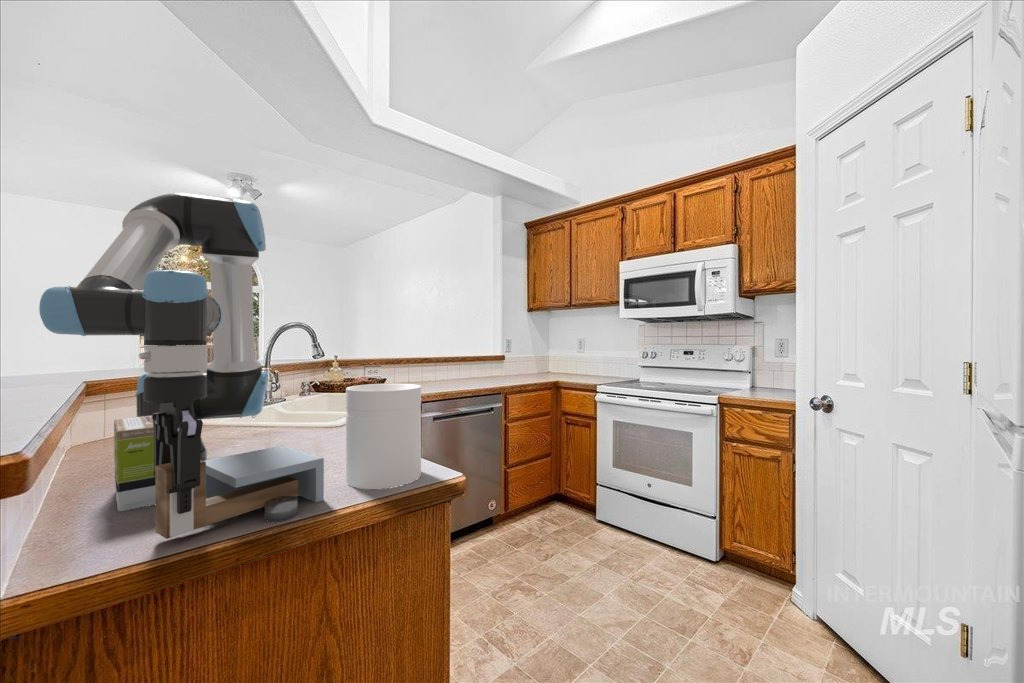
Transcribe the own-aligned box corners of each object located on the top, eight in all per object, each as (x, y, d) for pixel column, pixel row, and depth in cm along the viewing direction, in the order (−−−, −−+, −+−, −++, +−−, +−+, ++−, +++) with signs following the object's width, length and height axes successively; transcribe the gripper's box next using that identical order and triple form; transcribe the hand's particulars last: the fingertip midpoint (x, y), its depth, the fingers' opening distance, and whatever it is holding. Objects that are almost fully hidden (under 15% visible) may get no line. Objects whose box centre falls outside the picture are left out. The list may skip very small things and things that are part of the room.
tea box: (113, 491, 85) (113, 418, 85) (176, 480, 92) (176, 412, 92) (115, 513, 74) (115, 429, 74) (187, 498, 81) (187, 421, 81)
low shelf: (198, 505, 78) (198, 461, 78) (281, 483, 90) (281, 445, 90) (235, 528, 68) (235, 478, 68) (323, 500, 81) (323, 457, 81)
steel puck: (259, 516, 73) (259, 502, 73) (288, 507, 77) (288, 493, 77) (273, 524, 70) (273, 509, 70) (303, 514, 74) (303, 499, 74)
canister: (436, 473, 97) (436, 385, 97) (379, 495, 83) (379, 393, 83) (388, 462, 105) (388, 382, 105) (330, 480, 92) (330, 388, 92)
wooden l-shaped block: (155, 532, 64) (155, 465, 64) (286, 491, 81) (286, 439, 81) (166, 538, 62) (166, 470, 62) (299, 496, 78) (298, 441, 78)
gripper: (127, 373, 66) (127, 523, 66) (164, 379, 56) (163, 556, 56) (185, 370, 72) (185, 508, 72) (228, 375, 62) (227, 535, 62)
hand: (176, 528), depth 64 cm, fingers closed on wooden l-shaped block, 4 cm apart
